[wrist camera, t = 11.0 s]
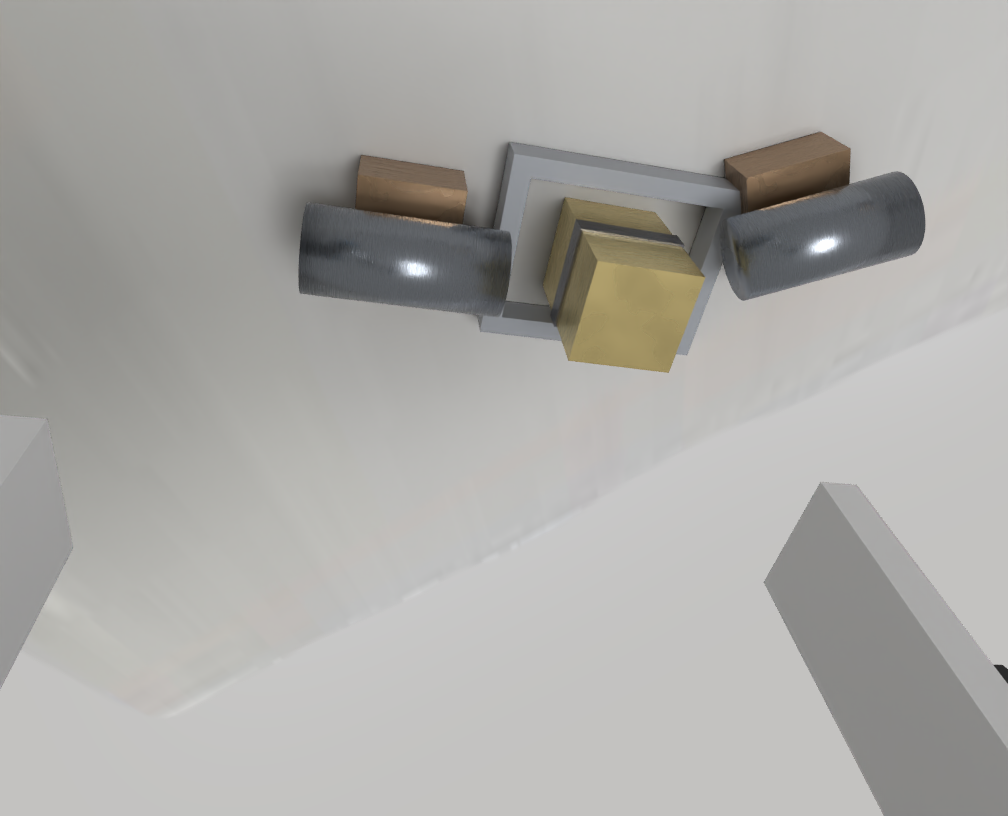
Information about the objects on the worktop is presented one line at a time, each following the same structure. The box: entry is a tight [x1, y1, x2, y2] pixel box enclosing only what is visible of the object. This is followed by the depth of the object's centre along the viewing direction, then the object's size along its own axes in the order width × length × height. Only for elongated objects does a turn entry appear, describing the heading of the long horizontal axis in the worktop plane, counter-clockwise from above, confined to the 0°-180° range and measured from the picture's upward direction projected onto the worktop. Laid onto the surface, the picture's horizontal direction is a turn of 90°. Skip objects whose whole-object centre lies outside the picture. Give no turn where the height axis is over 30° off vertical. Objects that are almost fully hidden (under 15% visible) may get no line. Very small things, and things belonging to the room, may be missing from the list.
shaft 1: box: [299, 155, 512, 317], centre depth 34 cm, size 9×6×7 cm, turn 79°
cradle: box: [478, 142, 741, 355], centre depth 38 cm, size 12×10×2 cm
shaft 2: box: [720, 132, 925, 301], centre depth 36 cm, size 8×6×7 cm
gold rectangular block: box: [543, 197, 705, 373], centre depth 36 cm, size 5×5×8 cm
